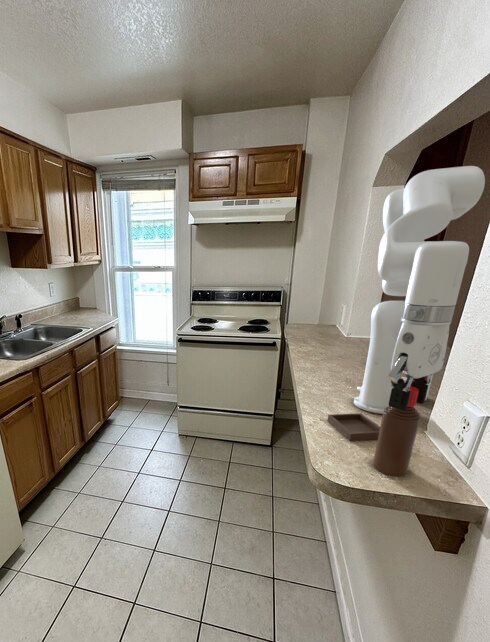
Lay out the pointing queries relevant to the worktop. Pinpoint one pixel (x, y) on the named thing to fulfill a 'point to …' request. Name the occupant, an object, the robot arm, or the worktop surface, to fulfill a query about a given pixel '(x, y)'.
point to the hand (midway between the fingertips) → (406, 403)
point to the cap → (413, 396)
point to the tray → (354, 426)
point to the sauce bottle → (396, 440)
